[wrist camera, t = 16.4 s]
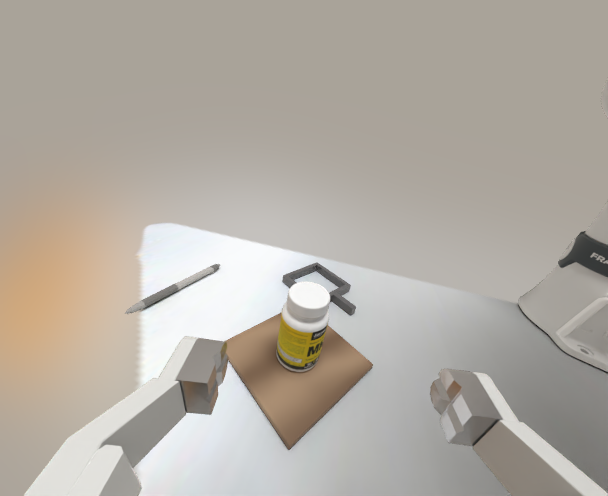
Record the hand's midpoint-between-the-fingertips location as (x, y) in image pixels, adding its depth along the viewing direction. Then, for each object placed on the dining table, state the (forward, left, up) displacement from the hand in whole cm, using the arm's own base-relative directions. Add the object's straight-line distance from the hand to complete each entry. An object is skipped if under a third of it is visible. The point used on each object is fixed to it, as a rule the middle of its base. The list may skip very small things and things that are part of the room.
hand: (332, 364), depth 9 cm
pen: (+27, -2, -16) cm, 31 cm away
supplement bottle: (+9, -8, -15) cm, 19 cm away
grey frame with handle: (+15, -19, -15) cm, 29 cm away
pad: (+9, -8, -15) cm, 19 cm away
